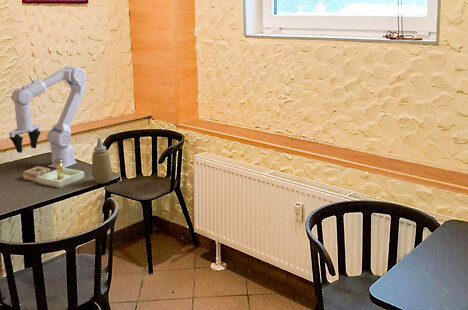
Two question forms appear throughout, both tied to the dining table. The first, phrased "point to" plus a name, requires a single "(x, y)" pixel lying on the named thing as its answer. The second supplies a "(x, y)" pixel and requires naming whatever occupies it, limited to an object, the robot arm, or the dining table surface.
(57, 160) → the pin
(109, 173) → the squeeze bottle
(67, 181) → the tray
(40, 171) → the lock block
